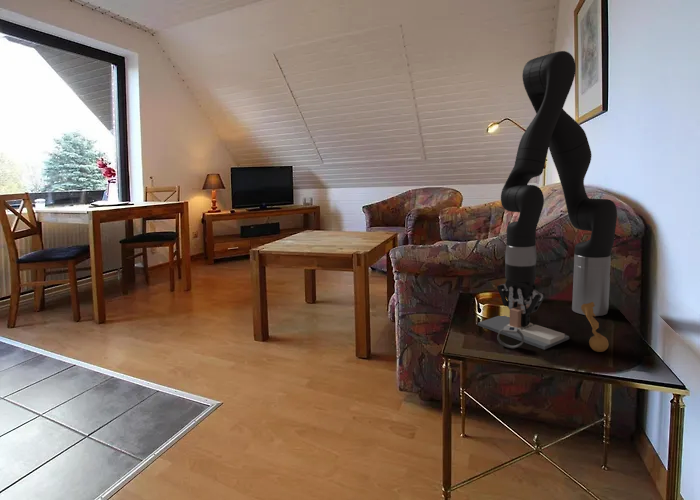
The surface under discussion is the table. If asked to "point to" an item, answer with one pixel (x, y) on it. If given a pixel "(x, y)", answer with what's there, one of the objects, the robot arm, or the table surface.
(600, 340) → the figurine
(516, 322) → the tan rectangular block
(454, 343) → the table surface
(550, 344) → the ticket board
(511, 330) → the wristwatch
